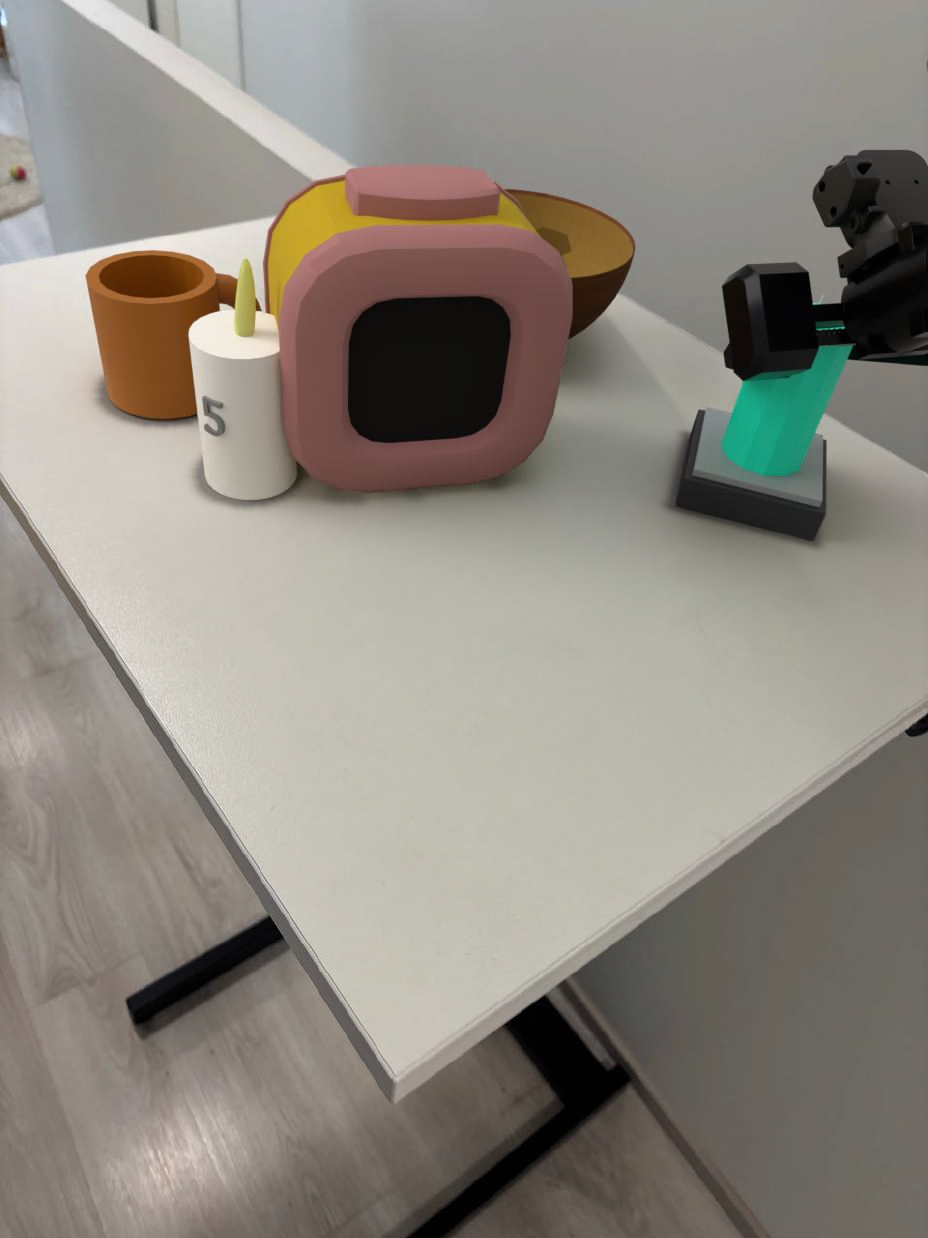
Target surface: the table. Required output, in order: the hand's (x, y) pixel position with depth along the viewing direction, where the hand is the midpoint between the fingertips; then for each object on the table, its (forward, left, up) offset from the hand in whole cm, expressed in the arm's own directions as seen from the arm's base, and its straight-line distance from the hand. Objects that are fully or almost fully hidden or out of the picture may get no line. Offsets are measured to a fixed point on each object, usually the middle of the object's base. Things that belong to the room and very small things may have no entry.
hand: (784, 355), depth 63 cm
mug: (+42, +7, -10) cm, 44 cm away
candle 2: (-1, +1, -7) cm, 7 cm away
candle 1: (+33, +15, -10) cm, 38 cm away
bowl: (+21, -12, -10) cm, 26 cm away
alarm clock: (+24, +8, -10) cm, 28 cm away
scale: (-1, +1, -10) cm, 10 cm away
